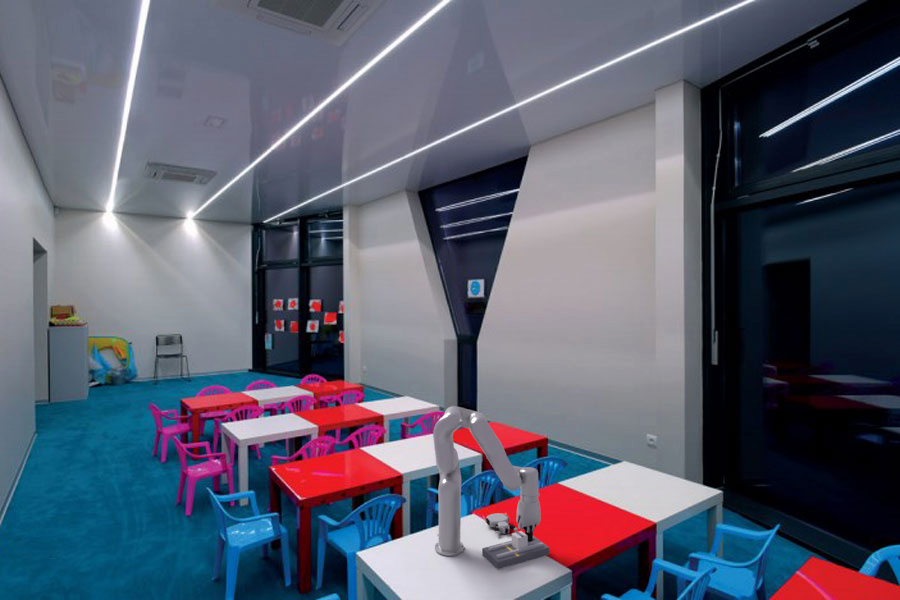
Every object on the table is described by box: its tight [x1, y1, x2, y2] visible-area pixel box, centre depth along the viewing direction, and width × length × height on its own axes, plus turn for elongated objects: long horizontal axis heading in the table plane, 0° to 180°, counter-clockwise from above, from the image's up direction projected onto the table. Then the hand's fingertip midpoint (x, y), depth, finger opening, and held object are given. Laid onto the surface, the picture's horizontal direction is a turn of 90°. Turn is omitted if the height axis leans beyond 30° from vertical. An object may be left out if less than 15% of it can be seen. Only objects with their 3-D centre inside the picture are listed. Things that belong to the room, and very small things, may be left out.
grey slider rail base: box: [481, 535, 550, 570], centre depth 201 cm, size 12×26×4 cm, turn 117°
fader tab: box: [511, 530, 528, 549], centre depth 202 cm, size 5×5×6 cm
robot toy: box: [482, 512, 519, 535], centre depth 225 cm, size 12×4×15 cm
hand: (528, 540), depth 205 cm, fingers closed
